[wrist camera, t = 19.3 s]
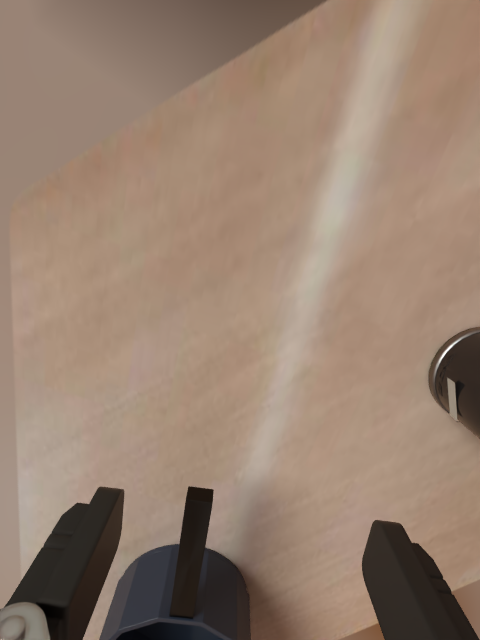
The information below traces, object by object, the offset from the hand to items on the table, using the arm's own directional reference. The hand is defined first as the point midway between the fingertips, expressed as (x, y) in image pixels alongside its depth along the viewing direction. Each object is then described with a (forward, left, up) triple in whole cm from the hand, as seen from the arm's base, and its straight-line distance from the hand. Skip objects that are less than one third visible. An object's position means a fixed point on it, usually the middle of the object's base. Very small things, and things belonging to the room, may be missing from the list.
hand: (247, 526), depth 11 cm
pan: (+1, +27, -23) cm, 36 cm away
